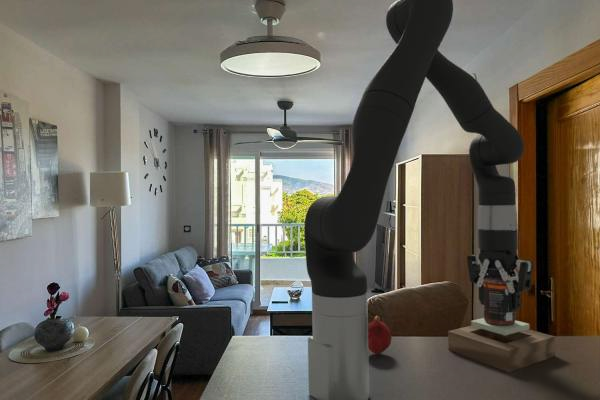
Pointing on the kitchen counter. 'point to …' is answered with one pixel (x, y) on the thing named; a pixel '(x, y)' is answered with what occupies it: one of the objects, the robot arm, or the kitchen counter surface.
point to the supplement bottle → (496, 300)
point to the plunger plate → (501, 327)
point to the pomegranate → (378, 336)
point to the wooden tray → (502, 347)
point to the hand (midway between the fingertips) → (499, 307)
